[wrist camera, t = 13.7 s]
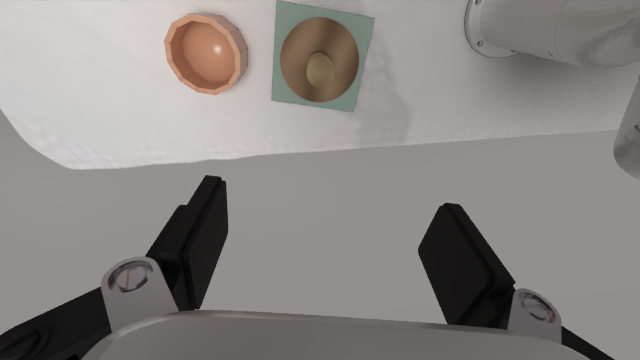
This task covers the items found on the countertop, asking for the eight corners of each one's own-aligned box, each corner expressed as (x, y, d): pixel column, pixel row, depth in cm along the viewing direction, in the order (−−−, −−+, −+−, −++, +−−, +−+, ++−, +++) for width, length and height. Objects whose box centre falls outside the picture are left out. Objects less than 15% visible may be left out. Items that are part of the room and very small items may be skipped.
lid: (366, 24, 39) (377, 29, 32) (349, 105, 45) (355, 123, 39) (283, 10, 38) (277, 12, 31) (278, 95, 44) (271, 111, 38)
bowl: (247, 20, 39) (239, 22, 35) (247, 89, 44) (240, 98, 40) (176, 8, 38) (159, 8, 34) (185, 80, 43) (171, 88, 39)
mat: (374, 17, 39) (374, 18, 38) (352, 111, 46) (353, 112, 46) (277, 0, 37) (276, 0, 37) (271, 99, 45) (271, 100, 45)
